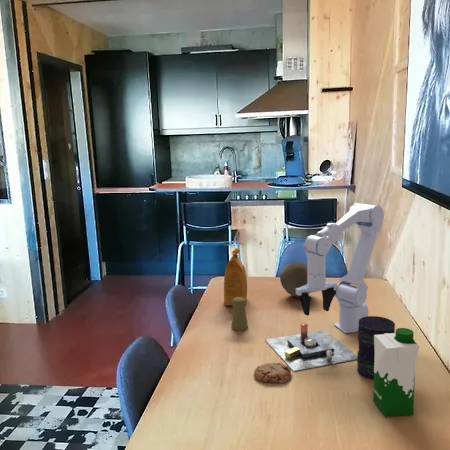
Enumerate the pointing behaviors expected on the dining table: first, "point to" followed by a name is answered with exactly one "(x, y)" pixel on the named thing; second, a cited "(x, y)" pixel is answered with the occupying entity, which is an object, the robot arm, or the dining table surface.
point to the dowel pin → (328, 355)
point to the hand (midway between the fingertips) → (316, 312)
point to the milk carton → (395, 372)
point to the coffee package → (234, 279)
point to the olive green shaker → (239, 314)
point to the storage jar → (370, 342)
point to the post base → (311, 360)
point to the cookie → (272, 373)
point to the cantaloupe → (294, 277)
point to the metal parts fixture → (301, 350)
